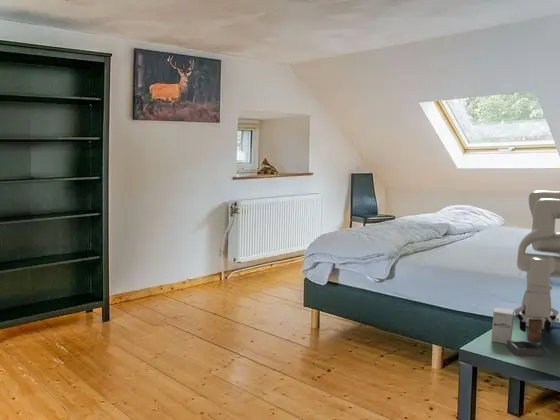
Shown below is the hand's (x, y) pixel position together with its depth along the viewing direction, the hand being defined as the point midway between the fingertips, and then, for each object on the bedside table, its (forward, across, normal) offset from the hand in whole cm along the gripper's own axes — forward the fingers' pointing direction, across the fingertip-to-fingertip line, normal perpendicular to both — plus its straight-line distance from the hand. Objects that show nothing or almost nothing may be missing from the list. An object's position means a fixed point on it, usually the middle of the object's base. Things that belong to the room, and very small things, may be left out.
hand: (534, 331), depth 211 cm
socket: (+6, +8, +7) cm, 12 cm away
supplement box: (+6, +11, -4) cm, 13 cm away
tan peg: (+6, 0, -1) cm, 6 cm away
